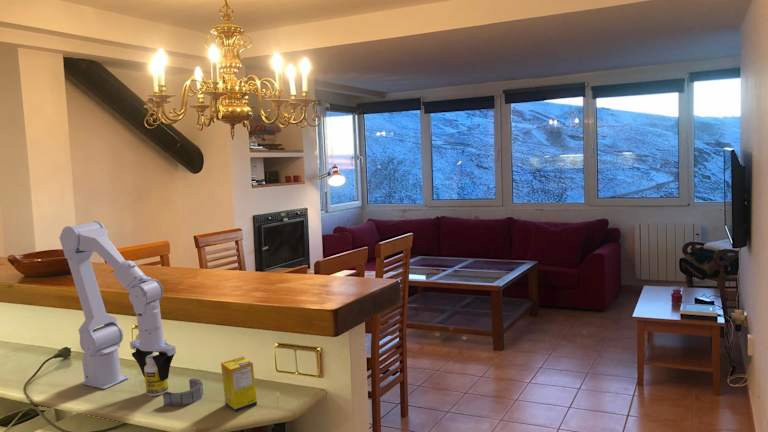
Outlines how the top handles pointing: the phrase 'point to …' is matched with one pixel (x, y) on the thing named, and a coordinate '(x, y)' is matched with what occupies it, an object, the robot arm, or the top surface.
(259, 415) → the top surface
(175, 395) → the steel horseshoe collar
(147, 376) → the supplement bottle
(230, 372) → the supplement box
